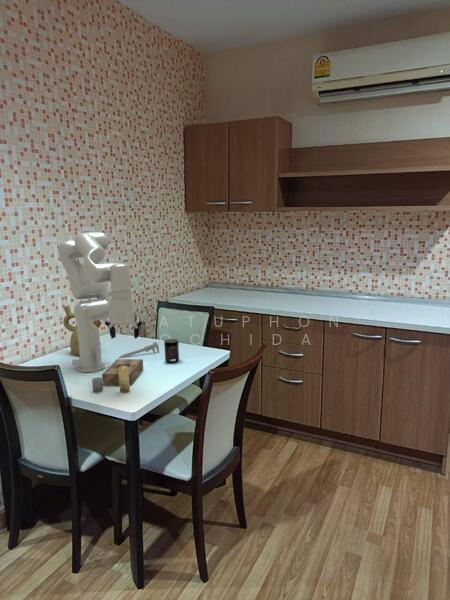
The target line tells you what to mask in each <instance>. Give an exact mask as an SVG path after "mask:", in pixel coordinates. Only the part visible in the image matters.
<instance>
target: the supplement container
mask: <svg viewBox="0 0 450 600" xmlns="http://www.w3.org/2000/svg"><path fill="white" fill-rule="evenodd" d="M163 344H164V345H163V346H164V361H165V363H166V364H170V365H171V364H176V363H177V364H178V363H179V361H180V352H179V349H180V346H179V339H177V338H168V339H165V340H164V341H163Z"/></svg>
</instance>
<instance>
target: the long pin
mask: <svg viewBox="0 0 450 600" xmlns="http://www.w3.org/2000/svg"><path fill="white" fill-rule="evenodd" d="M118 374H119V389H118V390H119V393H123V394H125V393H129V392H130V391H131V387H130V385H129V369H128V366H126V365H123V366H119V367H118Z"/></svg>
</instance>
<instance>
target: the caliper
mask: <svg viewBox="0 0 450 600" xmlns="http://www.w3.org/2000/svg"><path fill="white" fill-rule="evenodd" d="M155 349H156V350H155ZM151 350H152V352H153V353H154V354H156V351H157V353H158V352H159V353H160V347H159V344H158V342H156V341H152V344H149V345H145V346H144V347H142V348H139V349H136V350H132V351H130V352H127V353H123V354H121V355H120V356H118V359H121V358H122V359H125V358H128V357H130V356H134V355H137V354H139V353H140V354H141V353H143V352H145V353H148V352H150V351H151Z"/></svg>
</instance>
